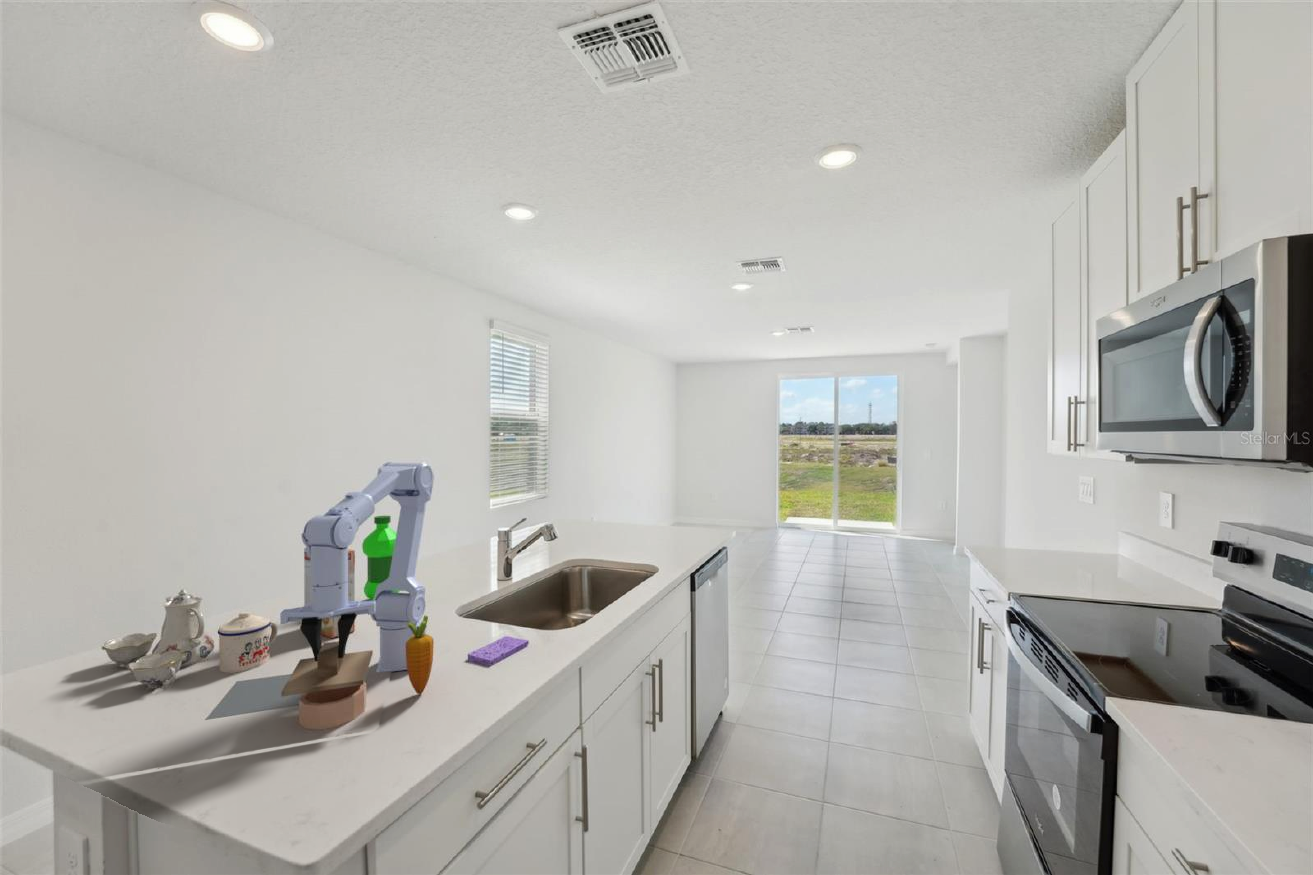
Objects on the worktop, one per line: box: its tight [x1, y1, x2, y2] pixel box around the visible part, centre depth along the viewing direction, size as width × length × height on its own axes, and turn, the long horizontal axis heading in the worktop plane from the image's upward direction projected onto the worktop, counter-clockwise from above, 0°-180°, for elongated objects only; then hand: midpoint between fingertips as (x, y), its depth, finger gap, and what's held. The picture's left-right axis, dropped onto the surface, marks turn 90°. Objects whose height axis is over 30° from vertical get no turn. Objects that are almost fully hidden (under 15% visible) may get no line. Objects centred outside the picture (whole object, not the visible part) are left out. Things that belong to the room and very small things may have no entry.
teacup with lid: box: [217, 610, 279, 674], centre depth 117 cm, size 12×9×12 cm
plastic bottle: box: [361, 515, 400, 601], centre depth 160 cm, size 10×10×25 cm
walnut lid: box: [281, 640, 374, 697], centre depth 97 cm, size 12×12×5 cm
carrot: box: [406, 614, 434, 695], centre depth 104 cm, size 5×5×15 cm
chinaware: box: [101, 588, 215, 690], centre depth 114 cm, size 28×17×17 cm, turn 63°
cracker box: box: [303, 547, 356, 639], centre depth 136 cm, size 14×6×21 cm, turn 58°
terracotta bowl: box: [298, 681, 367, 730], centre depth 96 cm, size 10×10×4 cm
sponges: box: [467, 635, 530, 667], centre depth 124 cm, size 7×13×2 cm, turn 153°
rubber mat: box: [205, 673, 302, 721], centre depth 104 cm, size 15×15×1 cm
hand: (330, 657), depth 96 cm, fingers closed on walnut lid, 3 cm apart
